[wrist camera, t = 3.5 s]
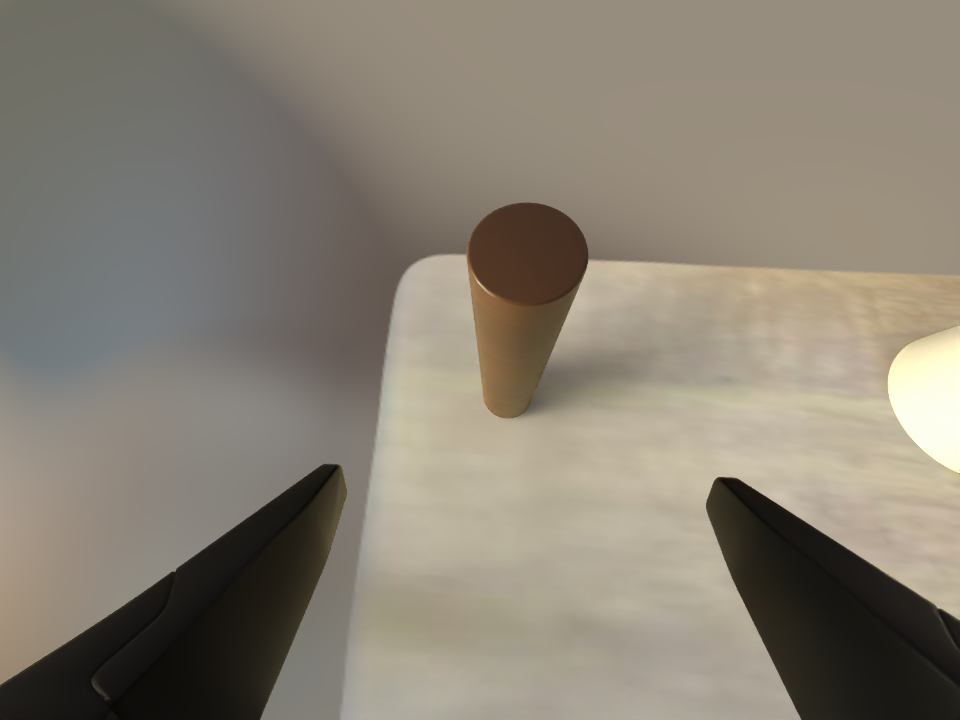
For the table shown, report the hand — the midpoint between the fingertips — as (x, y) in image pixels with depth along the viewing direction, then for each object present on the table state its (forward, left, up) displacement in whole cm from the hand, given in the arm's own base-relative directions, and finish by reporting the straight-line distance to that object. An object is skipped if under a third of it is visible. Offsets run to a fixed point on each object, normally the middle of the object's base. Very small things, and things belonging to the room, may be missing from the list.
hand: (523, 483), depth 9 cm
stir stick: (+3, +4, -12) cm, 13 cm away
